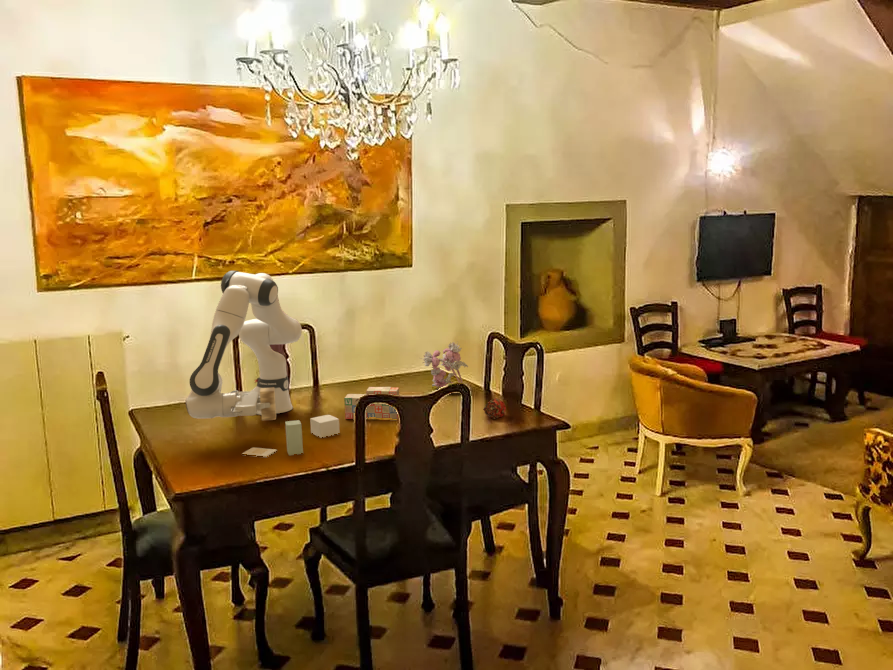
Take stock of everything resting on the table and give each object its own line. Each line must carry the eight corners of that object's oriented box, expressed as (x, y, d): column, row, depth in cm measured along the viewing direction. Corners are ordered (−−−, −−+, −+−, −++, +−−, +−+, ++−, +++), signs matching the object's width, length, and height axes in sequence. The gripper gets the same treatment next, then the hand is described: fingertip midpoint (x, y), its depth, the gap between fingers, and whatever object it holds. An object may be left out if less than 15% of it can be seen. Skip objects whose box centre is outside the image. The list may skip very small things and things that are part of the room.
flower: (479, 381, 394) (454, 333, 392) (483, 388, 371) (456, 337, 369) (441, 401, 394) (415, 353, 392) (441, 410, 372) (414, 359, 370)
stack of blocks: (345, 420, 344) (343, 390, 342) (348, 415, 350) (347, 386, 348) (397, 420, 341) (396, 390, 339) (400, 416, 348) (399, 386, 345)
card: (242, 455, 305) (242, 452, 304) (252, 448, 311) (252, 446, 311) (266, 457, 301) (266, 455, 301) (277, 451, 308) (276, 449, 308)
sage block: (287, 451, 307) (285, 421, 305) (301, 449, 309) (299, 420, 307) (288, 455, 303) (287, 425, 301) (303, 453, 304) (301, 423, 302)
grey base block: (320, 438, 322) (319, 423, 321) (311, 433, 328) (310, 418, 327) (339, 434, 326) (338, 418, 325) (329, 429, 333) (328, 414, 331)
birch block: (261, 420, 315) (259, 391, 313) (262, 416, 320) (260, 388, 318) (275, 419, 316) (273, 390, 314) (276, 415, 321) (274, 387, 319)
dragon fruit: (494, 426, 335) (492, 421, 347) (512, 412, 335) (509, 409, 347) (481, 409, 335) (479, 405, 347) (498, 395, 335) (496, 392, 347)
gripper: (228, 404, 304) (268, 401, 306) (233, 389, 324) (271, 386, 326) (230, 421, 306) (269, 418, 307) (235, 405, 325) (272, 402, 327)
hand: (270, 402), depth 317 cm, fingers closed on birch block, 5 cm apart
